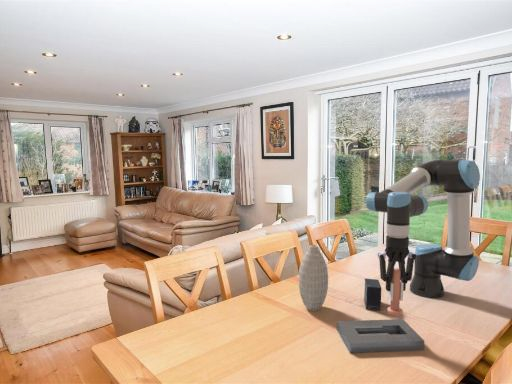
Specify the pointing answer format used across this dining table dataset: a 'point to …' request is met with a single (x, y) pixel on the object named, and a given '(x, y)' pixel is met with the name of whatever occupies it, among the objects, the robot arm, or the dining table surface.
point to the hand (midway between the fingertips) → (395, 299)
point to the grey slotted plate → (379, 336)
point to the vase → (313, 279)
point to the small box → (372, 294)
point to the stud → (395, 294)
